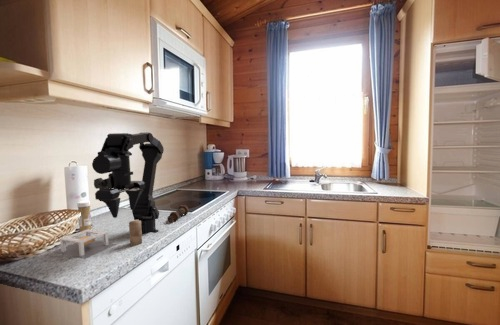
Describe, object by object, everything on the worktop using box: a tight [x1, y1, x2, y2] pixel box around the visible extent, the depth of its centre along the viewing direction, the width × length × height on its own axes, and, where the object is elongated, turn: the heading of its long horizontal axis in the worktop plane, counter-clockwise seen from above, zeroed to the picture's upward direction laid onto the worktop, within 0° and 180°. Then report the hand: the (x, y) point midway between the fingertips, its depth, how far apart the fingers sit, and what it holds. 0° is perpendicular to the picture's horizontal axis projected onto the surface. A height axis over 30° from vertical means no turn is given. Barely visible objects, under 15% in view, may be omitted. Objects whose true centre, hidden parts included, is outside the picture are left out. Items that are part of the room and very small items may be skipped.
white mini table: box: [52, 228, 118, 260], centre depth 88 cm, size 12×16×6 cm
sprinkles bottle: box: [76, 200, 92, 232], centre depth 106 cm, size 5×5×14 cm
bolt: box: [166, 204, 189, 223], centre depth 124 cm, size 6×5×15 cm
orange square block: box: [76, 235, 96, 245], centre depth 88 cm, size 4×4×2 cm
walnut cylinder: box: [128, 220, 143, 247], centre depth 91 cm, size 4×4×9 cm
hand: (124, 213), depth 88 cm, fingers open, 9 cm apart
